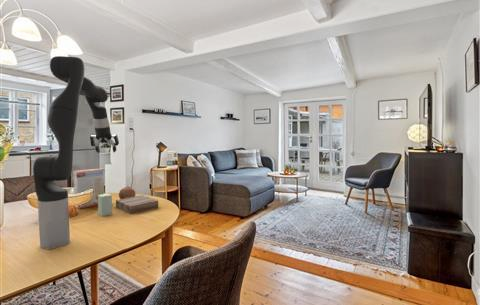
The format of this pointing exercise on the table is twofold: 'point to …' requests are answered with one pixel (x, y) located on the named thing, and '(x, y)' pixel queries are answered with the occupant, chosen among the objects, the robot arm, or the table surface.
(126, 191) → the onion
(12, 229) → the table surface
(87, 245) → the table surface
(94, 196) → the cracker box
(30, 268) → the table surface
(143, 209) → the walnut base
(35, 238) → the table surface
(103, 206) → the sage block
